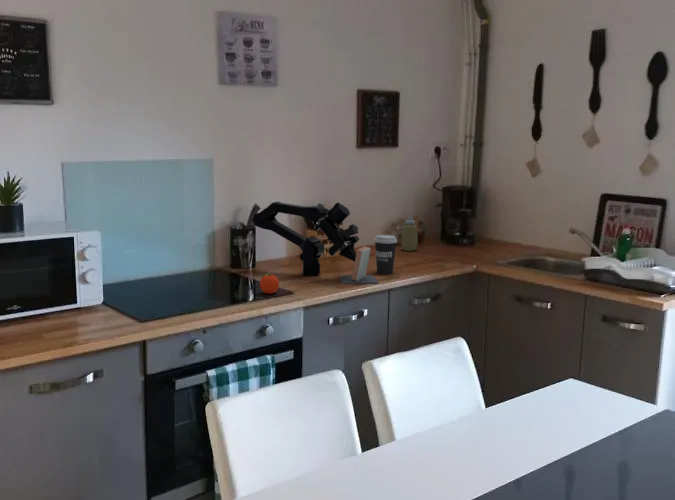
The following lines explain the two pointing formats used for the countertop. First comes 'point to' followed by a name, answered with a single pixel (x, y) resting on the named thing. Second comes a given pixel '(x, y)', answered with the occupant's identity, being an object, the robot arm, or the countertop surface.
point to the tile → (361, 263)
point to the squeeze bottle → (409, 235)
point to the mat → (366, 280)
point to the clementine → (269, 283)
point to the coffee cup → (385, 253)
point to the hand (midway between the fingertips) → (358, 261)
